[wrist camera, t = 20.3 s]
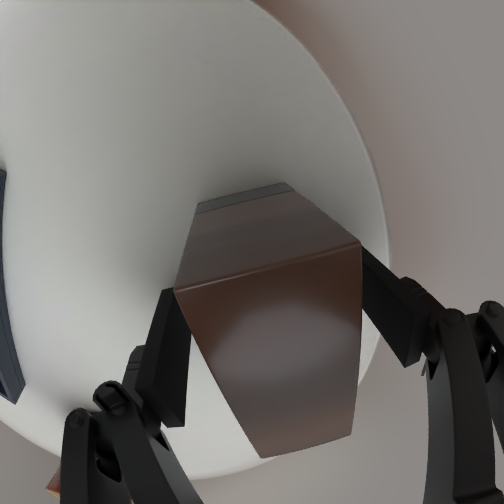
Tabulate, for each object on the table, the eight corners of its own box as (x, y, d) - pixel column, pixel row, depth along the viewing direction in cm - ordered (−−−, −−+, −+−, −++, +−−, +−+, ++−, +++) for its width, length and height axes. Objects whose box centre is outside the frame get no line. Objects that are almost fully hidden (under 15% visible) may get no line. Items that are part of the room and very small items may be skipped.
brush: (197, 203, 13) (170, 289, 6) (284, 182, 13) (362, 241, 6) (244, 350, 17) (260, 459, 10) (309, 333, 17) (351, 435, 10)
